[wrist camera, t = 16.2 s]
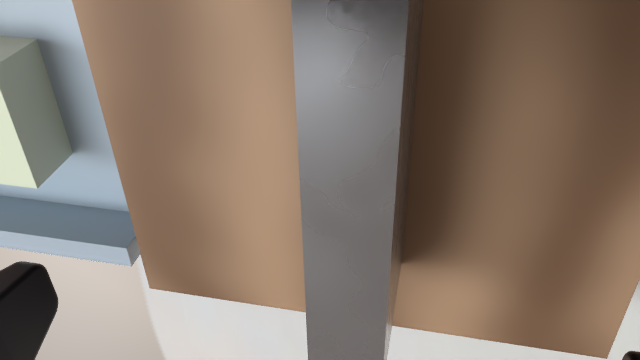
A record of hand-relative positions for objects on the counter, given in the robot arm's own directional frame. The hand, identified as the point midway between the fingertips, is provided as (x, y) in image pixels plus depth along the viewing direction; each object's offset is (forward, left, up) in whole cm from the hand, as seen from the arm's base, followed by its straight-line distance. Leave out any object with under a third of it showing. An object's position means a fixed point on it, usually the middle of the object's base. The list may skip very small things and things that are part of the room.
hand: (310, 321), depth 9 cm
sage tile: (+8, +14, -9) cm, 19 cm away
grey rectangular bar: (0, 0, -9) cm, 9 cm away
